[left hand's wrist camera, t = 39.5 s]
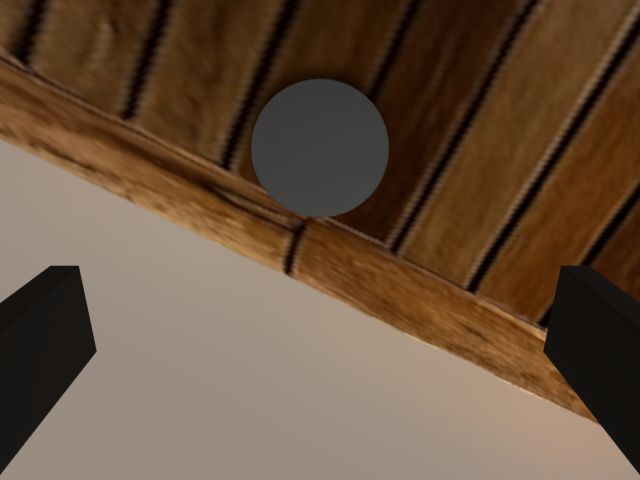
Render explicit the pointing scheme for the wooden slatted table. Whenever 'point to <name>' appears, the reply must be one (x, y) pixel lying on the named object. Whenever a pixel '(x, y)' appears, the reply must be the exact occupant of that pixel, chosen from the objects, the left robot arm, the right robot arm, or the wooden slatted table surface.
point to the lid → (319, 147)
